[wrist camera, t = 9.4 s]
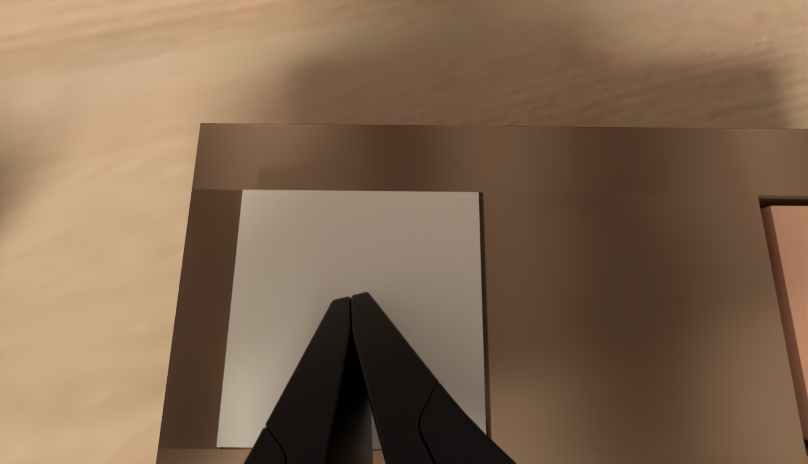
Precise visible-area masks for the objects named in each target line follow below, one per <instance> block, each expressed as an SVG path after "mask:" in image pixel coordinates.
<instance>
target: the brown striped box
mask: <svg viewBox="0 0 808 464" xmlns="http://www.w3.org/2000/svg"><path fill="white" fill-rule="evenodd" d="M243 190H322V191H419V192H479V221H480V254H481V286H482V319H483V351H484V384H485V416H486V435H487V436H488V437H489V438H491V439H492V440H493V441H494V442H495V443H496V444H497V445H498V446H499V447H500V448H501V449H502V450H503V451H504V452H505V453H506V454H507V455H508V456H509V457H510V458H511V459H512V460H514V461H515V462H516V463H517V464H808V440H805V439H803V434H802V428H801V423H800V418H799V412H798V407H797V402H796V396H795V391H794V386H793V380H792V375H791V370H790V364H789V359H788V354H787V348H786V343H785V338H784V332H783V327H782V322H781V317H780V311H779V306H778V301H777V295H776V290H775V285H774V279H773V274H772V269H771V263H770V258H769V253H768V247H767V242H766V237H765V231H764V226H763V221H762V215H761V210H760V209H762V208H765V207H768V206H808V129H725V128H625V127H525V126H425V125H325V124H225V123H201V124H200V132H199V140H198V147H197V155H196V163H195V170H194V178H193V185H192V193H191V201H190V208H189V216H188V224H187V231H186V239H185V247H184V254H183V262H182V269H181V277H180V285H179V292H178V300H177V308H176V315H175V323H174V331H173V338H172V346H171V353H170V361H169V369H168V376H167V384H166V392H165V399H164V407H163V415H162V422H161V430H160V438H159V445H158V453H157V460H156V464H243V463H244V461H245V460H246V458H247V456H248V454H249V453H250V451H251V449H252V448H251V447H216V446H217V436H218V426H219V416H220V407H221V397H222V387H223V377H224V368H225V358H226V348H227V338H228V328H229V319H230V309H231V299H232V289H233V280H234V270H235V260H236V250H237V240H238V231H239V221H240V211H241V201H242V192H243ZM372 450H373V464H385V460H384V456H383V453H382V449H372Z"/></svg>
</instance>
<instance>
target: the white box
mask: <svg viewBox="0 0 808 464" xmlns="http://www.w3.org/2000/svg"><path fill="white" fill-rule="evenodd" d="M363 292H369V293H370V294H371V296H372V297H373V298H374V299H375V301H376V302H377V303H378V305H379V306H380V307H381V308H382V310H383V311H384V312H385V313H386V315H387V316H388V317H389V318H390V320H391V321H392V322H393V324H394V325H395V326H396V327H397V329H398V330H399V331H400V332H401V334H402V335H403V336H404V338H405V339H406V340H407V341H408V343H409V344H410V345H411V346H412V348H413V349H414V350H415V351H416V353H417V354H418V355H419V357H420V358H421V359H422V360H423V362H424V363H425V364H426V365H427V367H428V368H429V369H430V371H431V372H432V373H433V374H434V376H435V377H436V378H437V379H438V381H439V383H441V384H442V385H443V387H444V388H445V389H446V391H447V392H448V393H449V394H450V396H451V397H452V398H453V399H454V400H455V401H456V403H457V404H458V405H459V406H460V407H461V408H462V410H463V411H464V412H465V413H466V414H467V415H468V416H469V417H470V418H471V419H472V420H473V421H474V422H475V423H476V425H477V426H478V427H479V428H480V429H481V430H482V431H483V432H484V433H485V434H486V416H485V384H484V351H483V319H482V286H481V254H480V221H479V192H419V191H322V190H243V192H242V201H241V211H240V221H239V231H238V240H237V250H236V260H235V270H234V280H233V289H232V299H231V309H230V319H229V328H228V338H227V348H226V358H225V368H224V377H223V387H222V397H221V407H220V416H219V426H218V436H217V446H216V447H251V448H252V447H253V446H254V444H255V442H256V440H257V438H258V436H259V435H260V433H261V431H262V429H263V428H264V427H266V426H265V424H266V422H267V420H268V418H269V416H270V415H271V413H272V411H273V409H274V407H275V405H276V403H277V402H278V400H279V398H280V396H281V394H282V392H283V391H284V389H285V387H286V385H287V383H288V381H289V379H290V378H291V376H292V374H293V372H294V370H295V368H296V367H297V365H298V363H299V361H300V359H301V357H302V355H303V354H304V352H305V350H306V348H307V346H308V344H309V343H310V341H311V339H312V337H313V335H314V333H315V331H316V330H317V328H318V326H319V324H320V322H321V320H322V319H323V317H324V315H325V313H326V311H327V309H328V307H329V306H330V304H331V302H332V301H333V300H335V299H338V298H342V297H346V296H349V297H350V298H351V297H352V295H355V294H359V293H363ZM371 421H372V449H381V445H380V441H379V437H378V433H377V429H376V426H375V422H374V418H373V414H372V410H371Z"/></svg>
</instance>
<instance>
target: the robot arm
mask: <svg viewBox="0 0 808 464" xmlns="http://www.w3.org/2000/svg"><path fill="white" fill-rule="evenodd" d="M371 410H372V414H373V418H374V422H375V426H376V429H377V433H378V437H379V441H380V445H381V449H382V453H383V456H384V460H385V464H517V463H516V462H515V461H514V460H512V459H511V458H510V457H509V456H508V455H507V454H506V453H505V452H504V451H503V450H502V449H501V448H500V447H499V446H498V445H497V444H496V443H495V442H494V441H493V440H492V439H491V438H489V437H488V436H487V435H486V434H485V433H484V432H483V431H482V430H481V429H480V428H479V427H478V426H477V425H476V423H475V422H474V421H473V420H472V419H471V418H470V417H469V416H468V415H467V414H466V413H465V412H464V411H463V410H462V408H461V407H460V406H459V405H458V404H457V403H456V401H455V400H454V399H453V398H452V397H451V396H450V394H449V393H448V392H447V391H446V389H445V388H444V387H443V385H442V384H441V383H439V381H438V379H437V378H436V377H435V376H434V374H433V373H432V372H431V371H430V369H429V368H428V367H427V365H426V364H425V363H424V362H423V360H422V359H421V358H420V357H419V355H418V354H417V353H416V351H415V350H414V349H413V348H412V346H411V345H410V344H409V343H408V341H407V340H406V339H405V338H404V336H403V335H402V334H401V332H400V331H399V330H398V329H397V327H396V326H395V325H394V324H393V322H392V321H391V320H390V318H389V317H388V316H387V315H386V313H385V312H384V311H383V310H382V308H381V307H380V306H379V305H378V303H377V302H376V301H375V299H374V298H373V297H372V296H371V294H370V293H369V292H363V293H359V294H355V295H352V297H351V298H350V297H349V296H346V297H342V298H338V299H335V300H333V301H332V302H331V304H330V306H329V307H328V309H327V311H326V313H325V315H324V317H323V319H322V320H321V322H320V324H319V326H318V328H317V330H316V331H315V333H314V335H313V337H312V339H311V341H310V343H309V344H308V346H307V348H306V350H305V352H304V354H303V355H302V357H301V359H300V361H299V363H298V365H297V367H296V368H295V370H294V372H293V374H292V376H291V378H290V379H289V381H288V383H287V385H286V387H285V389H284V391H283V392H282V394H281V396H280V398H279V400H278V402H277V403H276V405H275V407H274V409H273V411H272V413H271V415H270V416H269V418H268V420H267V422H266V424H265V426H266V427H264V428H263V429H262V431H261V433H260V435H259V436H258V438H257V440H256V442H255V444H254V446H253V447H252V449H251V451H250V453H249V454H248V456H247V458H246V460H245V461H244V463H243V464H373V450H372V421H371Z"/></svg>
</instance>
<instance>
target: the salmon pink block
mask: <svg viewBox="0 0 808 464" xmlns="http://www.w3.org/2000/svg"><path fill="white" fill-rule="evenodd" d="M760 210H761V215H762V221H763V226H764V231H765V237H766V242H767V247H768V253H769V258H770V263H771V269H772V274H773V279H774V285H775V290H776V295H777V301H778V306H779V311H780V317H781V322H782V327H783V332H784V338H785V343H786V348H787V354H788V359H789V364H790V370H791V375H792V380H793V386H794V391H795V396H796V402H797V407H798V412H799V418H800V423H801V428H802V434H803V439H805V440H808V206H768V207H765V208H762V209H760Z"/></svg>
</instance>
